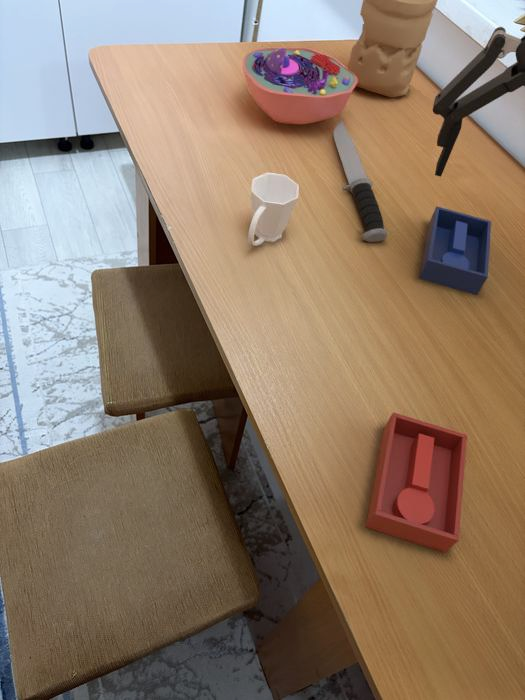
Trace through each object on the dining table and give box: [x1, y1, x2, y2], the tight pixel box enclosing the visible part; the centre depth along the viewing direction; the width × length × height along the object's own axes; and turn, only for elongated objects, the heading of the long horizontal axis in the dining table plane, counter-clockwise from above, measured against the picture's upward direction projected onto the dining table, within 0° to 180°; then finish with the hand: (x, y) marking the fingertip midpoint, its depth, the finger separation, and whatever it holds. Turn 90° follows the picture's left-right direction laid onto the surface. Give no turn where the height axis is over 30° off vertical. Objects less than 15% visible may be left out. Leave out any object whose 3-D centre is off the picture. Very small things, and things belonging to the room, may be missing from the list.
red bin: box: [365, 412, 468, 553], centre depth 63 cm, size 12×8×4 cm
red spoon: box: [392, 433, 435, 525], centre depth 63 cm, size 10×4×3 cm, turn 164°
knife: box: [333, 119, 388, 243], centre depth 95 cm, size 29×3×5 cm
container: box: [347, 0, 438, 98], centre depth 108 cm, size 13×13×18 cm
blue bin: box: [418, 206, 492, 295], centre depth 86 cm, size 12×8×4 cm
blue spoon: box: [441, 221, 469, 269], centre depth 86 cm, size 10×4×3 cm, turn 164°
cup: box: [247, 171, 300, 247], centre depth 83 cm, size 7×10×8 cm
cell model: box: [242, 46, 358, 125], centre depth 102 cm, size 17×20×11 cm
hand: (493, 184), depth 71 cm, fingers open, 13 cm apart
